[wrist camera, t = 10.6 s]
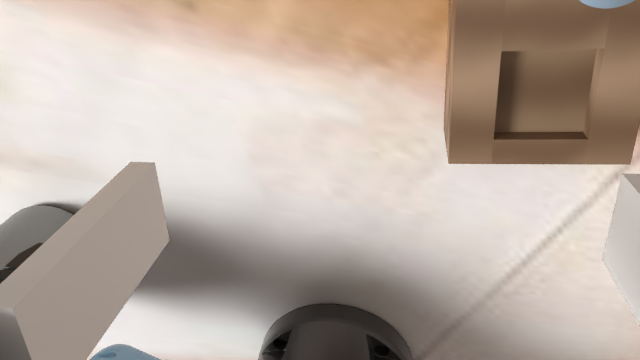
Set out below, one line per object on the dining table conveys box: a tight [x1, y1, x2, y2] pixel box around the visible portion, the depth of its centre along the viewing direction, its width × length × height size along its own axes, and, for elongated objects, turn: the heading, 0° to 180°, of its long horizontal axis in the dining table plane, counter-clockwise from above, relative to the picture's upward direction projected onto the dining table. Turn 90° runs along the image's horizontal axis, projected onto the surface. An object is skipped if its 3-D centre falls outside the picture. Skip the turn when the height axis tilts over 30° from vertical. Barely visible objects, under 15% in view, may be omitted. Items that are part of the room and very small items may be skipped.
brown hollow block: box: [444, 0, 640, 164], centre depth 33 cm, size 18×11×6 cm, turn 4°
